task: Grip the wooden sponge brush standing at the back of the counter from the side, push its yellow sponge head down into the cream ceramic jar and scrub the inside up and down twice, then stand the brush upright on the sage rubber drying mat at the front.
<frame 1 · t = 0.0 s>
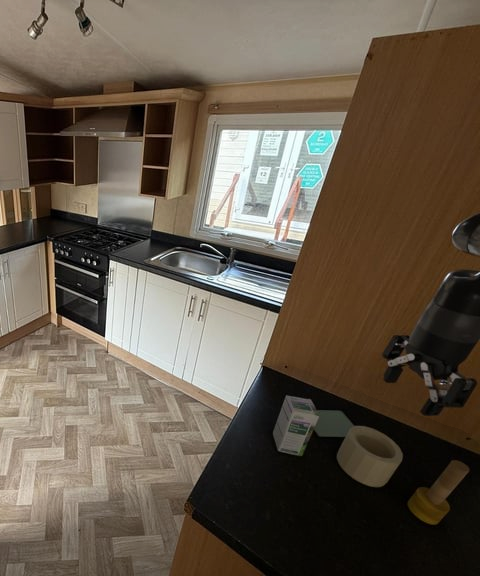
hand: (406, 397, 62), 27 cm above the worktop, tool pointing down, fingers open, 8 cm apart
syrup box: (286, 445, 83), on the worktop
jar: (360, 467, 77), on the worktop
drying mat: (330, 424, 88), on the worktop
sponge brush: (422, 512, 68), on the worktop
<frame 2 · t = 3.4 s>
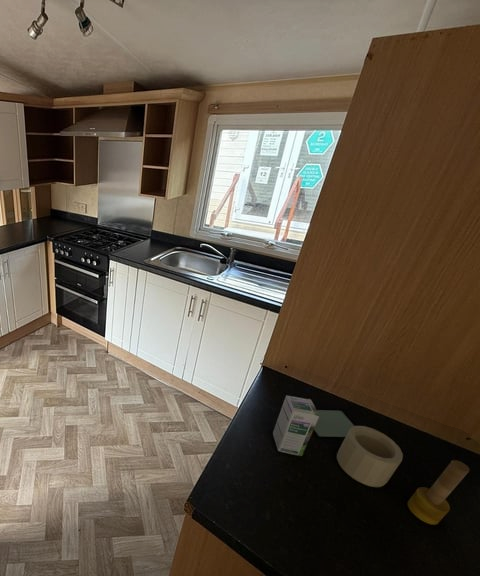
nothing on the worktop moved.
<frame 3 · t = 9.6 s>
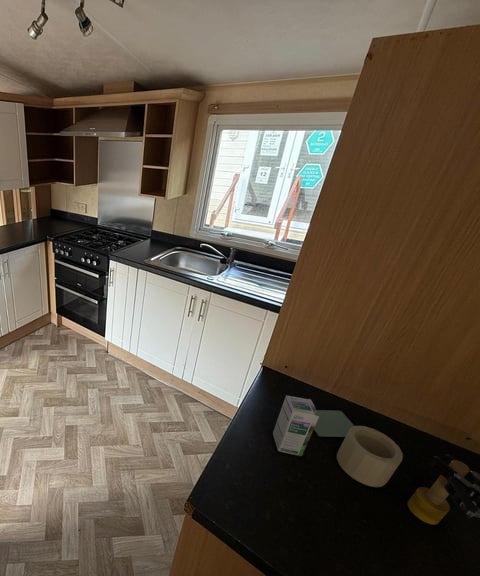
hand: (438, 458, 64), 14 cm above the worktop, tool horizontal, fingers closed on sponge brush, 2 cm apart
sponge brush: (422, 512, 68), on the worktop, touching gripper
everything else where it was.
when the fingers open (14 cm above the worktop, at t = 26.9 s): sponge brush stays where it is, resting on drying mat.
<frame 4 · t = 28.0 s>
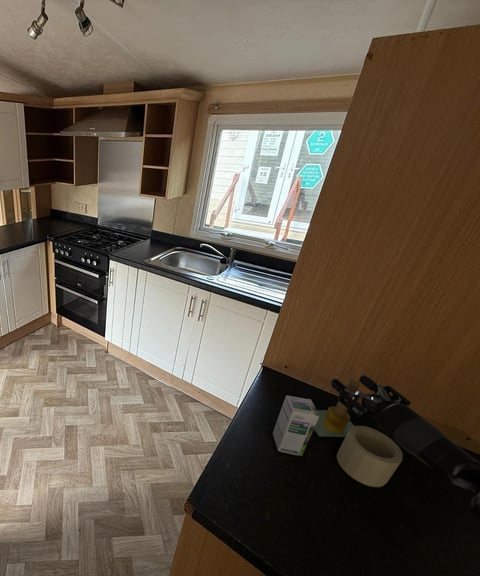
hand: (346, 379, 82), 16 cm above the worktop, tool horizontal, fingers open, 8 cm apart
sponge brush: (332, 425, 87), resting on drying mat
everything else where it was.
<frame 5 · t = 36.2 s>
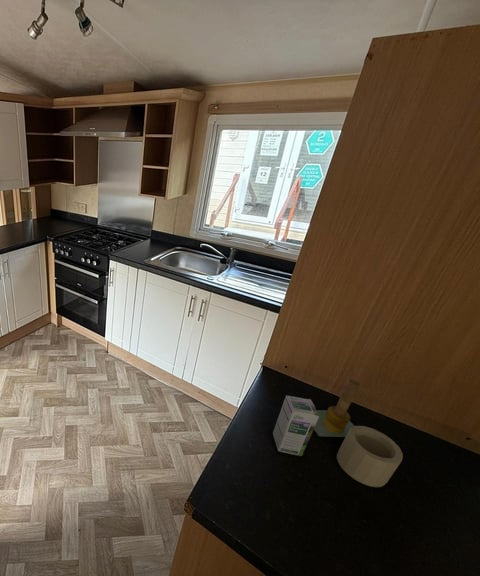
nothing on the worktop moved.
at the end: sponge brush inside the target area on the drying mat (0.4 cm from its centre), point 0.5 cm above the drying mat's base; sponge brush tilted 0°; the gripper is holding nothing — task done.
